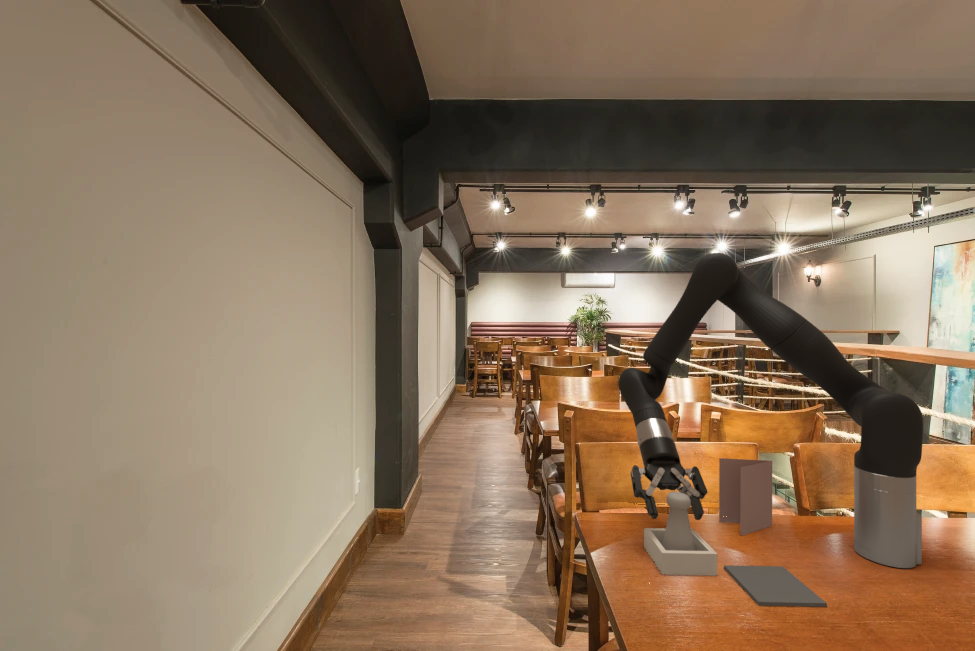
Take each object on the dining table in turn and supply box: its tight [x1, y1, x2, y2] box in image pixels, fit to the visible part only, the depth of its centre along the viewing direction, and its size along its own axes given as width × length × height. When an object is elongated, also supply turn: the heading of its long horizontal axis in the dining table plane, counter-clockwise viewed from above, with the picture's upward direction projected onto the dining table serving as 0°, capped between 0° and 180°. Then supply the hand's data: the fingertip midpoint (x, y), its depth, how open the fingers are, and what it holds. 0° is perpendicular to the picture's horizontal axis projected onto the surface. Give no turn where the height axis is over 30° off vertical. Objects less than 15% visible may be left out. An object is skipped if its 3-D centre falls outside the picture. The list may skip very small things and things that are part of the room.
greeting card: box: [718, 457, 773, 537], centre depth 99 cm, size 11×7×15 cm, turn 81°
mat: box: [723, 565, 828, 608], centre depth 77 cm, size 11×11×1 cm
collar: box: [643, 527, 718, 577], centre depth 85 cm, size 10×10×4 cm
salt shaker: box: [663, 491, 695, 551], centre depth 85 cm, size 6×6×13 cm
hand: (677, 518), depth 86 cm, fingers open, 8 cm apart
